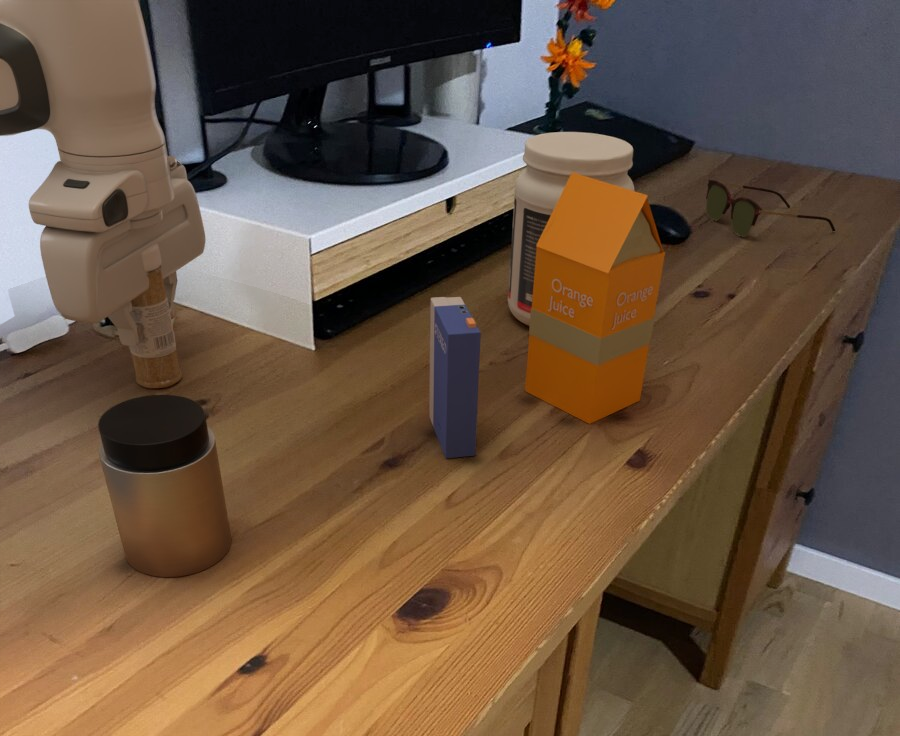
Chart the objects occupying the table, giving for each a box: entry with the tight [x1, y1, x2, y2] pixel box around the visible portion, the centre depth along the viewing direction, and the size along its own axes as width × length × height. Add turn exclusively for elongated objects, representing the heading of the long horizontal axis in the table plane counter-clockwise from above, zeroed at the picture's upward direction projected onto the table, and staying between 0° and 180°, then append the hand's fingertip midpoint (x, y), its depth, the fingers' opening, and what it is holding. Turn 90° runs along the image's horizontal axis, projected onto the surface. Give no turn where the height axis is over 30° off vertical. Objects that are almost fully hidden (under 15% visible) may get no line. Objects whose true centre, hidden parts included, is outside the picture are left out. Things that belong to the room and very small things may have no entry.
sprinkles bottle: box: [128, 244, 183, 389], centre depth 87 cm, size 5×5×13 cm
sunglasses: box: [705, 179, 836, 238], centre depth 133 cm, size 14×15×5 cm
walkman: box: [428, 296, 482, 459], centre depth 80 cm, size 8×3×12 cm, turn 12°
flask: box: [97, 394, 232, 578], centre depth 67 cm, size 8×8×11 cm
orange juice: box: [524, 172, 666, 425], centre depth 84 cm, size 8×9×20 cm
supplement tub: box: [507, 131, 636, 327], centre depth 100 cm, size 13×13×18 cm
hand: (149, 331), depth 88 cm, fingers closed on sprinkles bottle, 4 cm apart
